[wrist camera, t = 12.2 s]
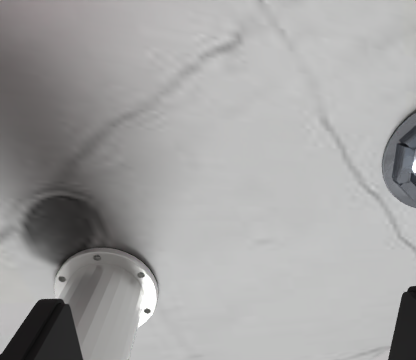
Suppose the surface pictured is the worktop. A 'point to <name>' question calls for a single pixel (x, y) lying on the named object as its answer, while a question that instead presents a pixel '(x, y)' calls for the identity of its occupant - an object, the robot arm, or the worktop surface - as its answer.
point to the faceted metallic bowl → (402, 162)
